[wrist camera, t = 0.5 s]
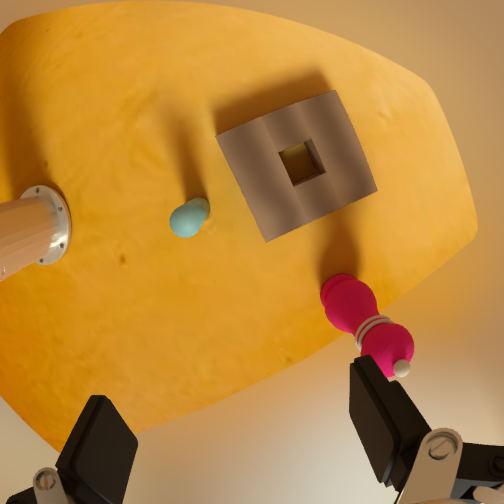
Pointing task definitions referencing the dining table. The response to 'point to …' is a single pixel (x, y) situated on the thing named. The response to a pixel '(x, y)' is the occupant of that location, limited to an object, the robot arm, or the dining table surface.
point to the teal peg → (189, 217)
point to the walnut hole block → (275, 175)
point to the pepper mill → (367, 324)
